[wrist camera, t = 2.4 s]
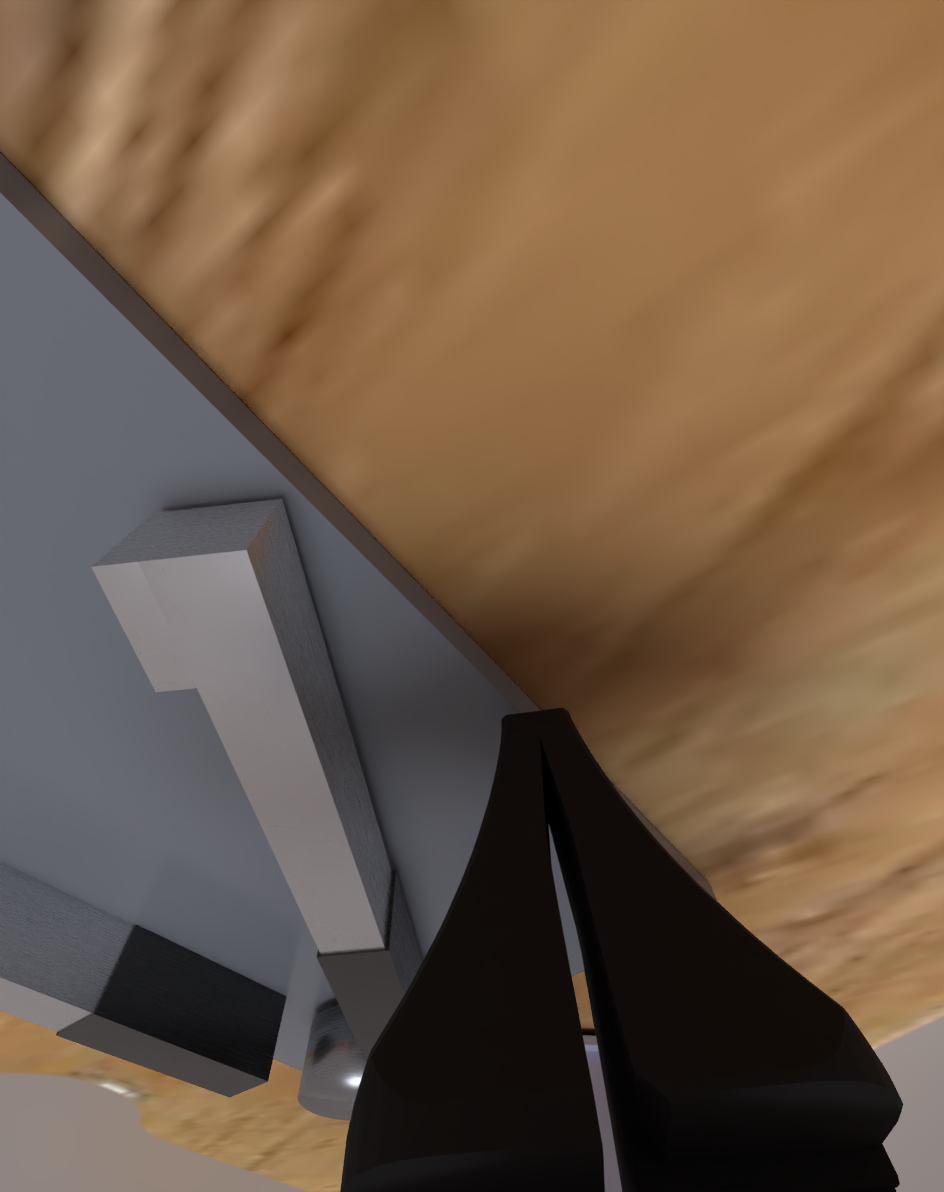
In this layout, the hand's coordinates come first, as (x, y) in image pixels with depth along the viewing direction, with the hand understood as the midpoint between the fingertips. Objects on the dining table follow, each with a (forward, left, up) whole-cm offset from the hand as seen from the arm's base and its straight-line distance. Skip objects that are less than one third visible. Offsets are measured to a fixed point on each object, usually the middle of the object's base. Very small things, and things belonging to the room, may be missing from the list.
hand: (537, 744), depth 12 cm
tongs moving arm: (-7, +5, -1) cm, 8 cm away
